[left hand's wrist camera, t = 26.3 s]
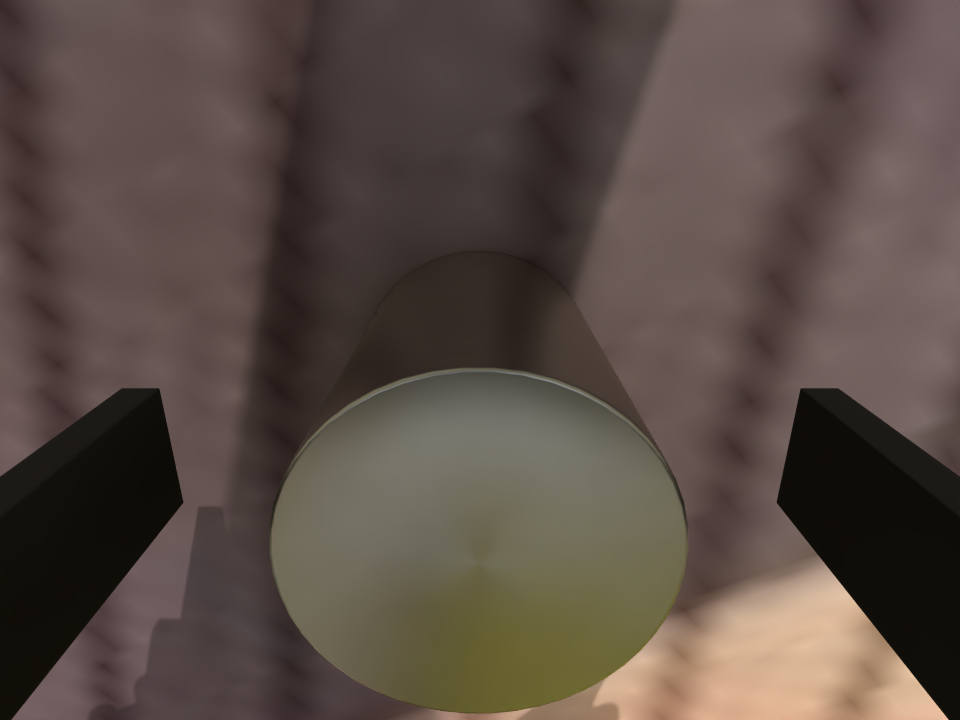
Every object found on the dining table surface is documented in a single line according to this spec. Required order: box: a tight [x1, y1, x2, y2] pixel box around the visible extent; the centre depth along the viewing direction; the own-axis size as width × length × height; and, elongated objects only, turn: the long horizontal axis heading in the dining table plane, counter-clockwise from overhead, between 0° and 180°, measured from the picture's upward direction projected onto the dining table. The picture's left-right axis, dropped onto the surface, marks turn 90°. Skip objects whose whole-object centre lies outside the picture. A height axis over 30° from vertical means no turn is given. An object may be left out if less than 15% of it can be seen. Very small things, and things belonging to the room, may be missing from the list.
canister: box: [269, 252, 688, 713], centre depth 14 cm, size 7×7×9 cm
